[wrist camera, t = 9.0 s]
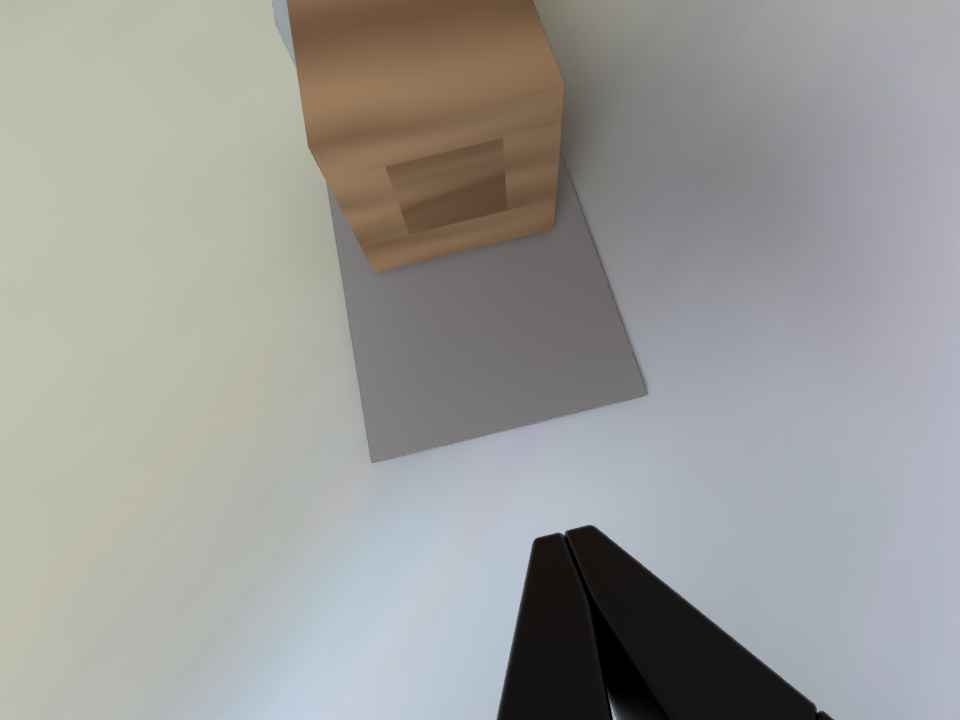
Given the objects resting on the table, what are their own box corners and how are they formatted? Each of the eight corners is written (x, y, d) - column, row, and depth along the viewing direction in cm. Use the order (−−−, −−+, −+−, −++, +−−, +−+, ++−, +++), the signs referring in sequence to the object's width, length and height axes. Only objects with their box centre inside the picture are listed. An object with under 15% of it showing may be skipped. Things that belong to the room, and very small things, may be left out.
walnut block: (553, 228, 24) (564, 84, 17) (374, 272, 24) (308, 146, 17) (508, 93, 27) (501, -80, 20) (348, 132, 27) (282, -27, 20)
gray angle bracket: (646, 395, 22) (692, 328, 16) (372, 463, 22) (311, 422, 15) (527, 65, 28) (528, -74, 22) (316, 116, 28) (258, -8, 22)
